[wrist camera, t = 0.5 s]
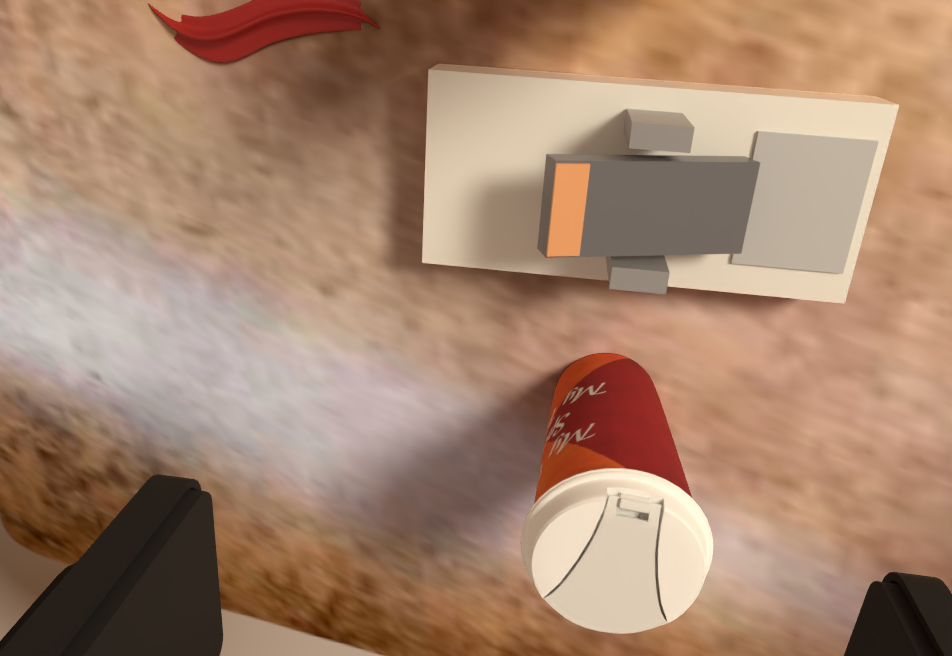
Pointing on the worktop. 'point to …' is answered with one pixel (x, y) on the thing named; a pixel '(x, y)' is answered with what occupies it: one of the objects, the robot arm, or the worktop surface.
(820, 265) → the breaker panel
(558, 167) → the breaker paddle
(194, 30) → the cayenne pepper
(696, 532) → the paper cup
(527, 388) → the worktop surface
